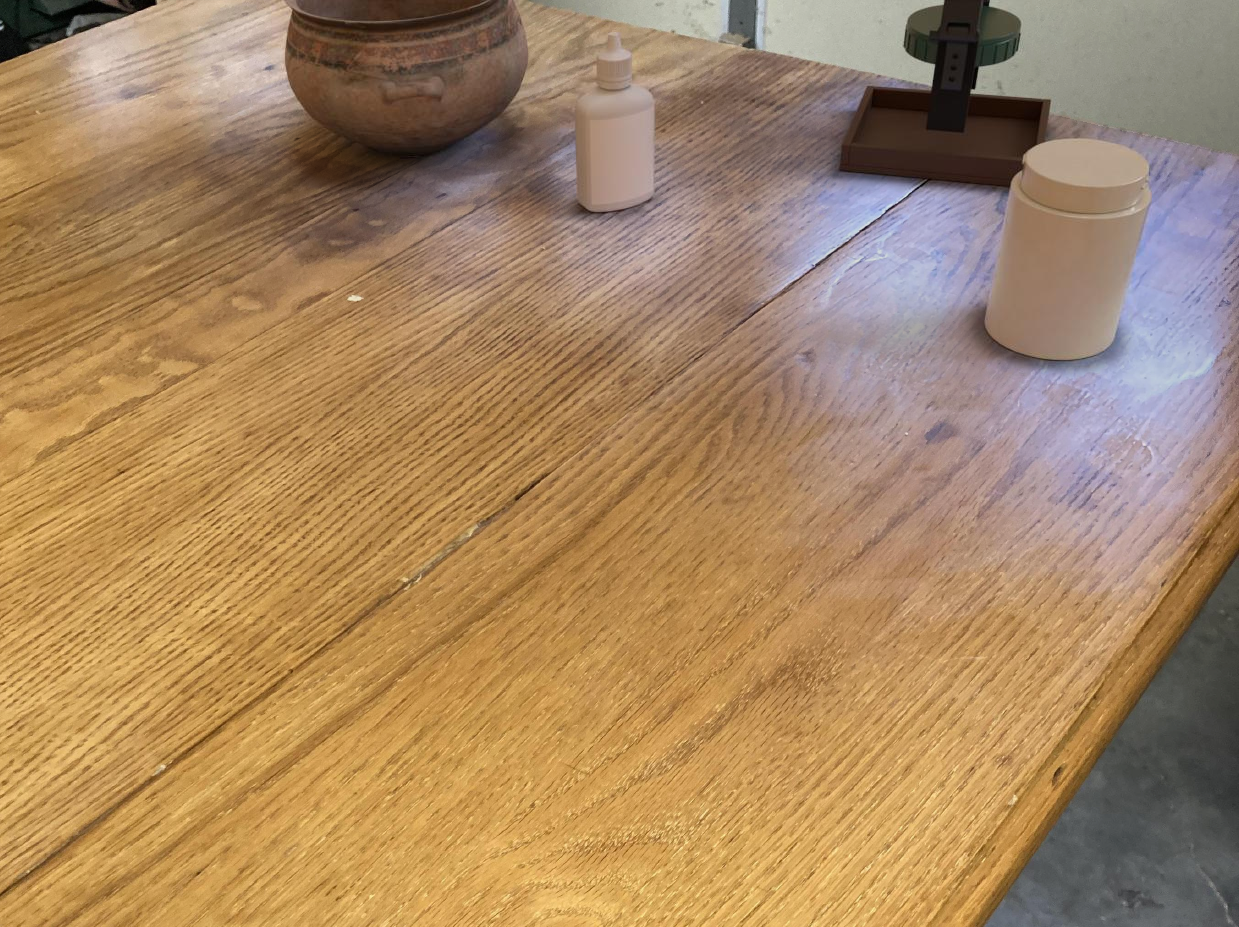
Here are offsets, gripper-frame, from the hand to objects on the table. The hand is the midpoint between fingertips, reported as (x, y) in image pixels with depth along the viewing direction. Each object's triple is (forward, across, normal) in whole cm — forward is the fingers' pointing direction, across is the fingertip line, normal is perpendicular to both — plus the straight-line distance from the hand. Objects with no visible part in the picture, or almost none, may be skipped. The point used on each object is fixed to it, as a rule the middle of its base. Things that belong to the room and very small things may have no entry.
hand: (951, 106), depth 100 cm
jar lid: (-6, 0, 0) cm, 6 cm away
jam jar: (+3, +26, +9) cm, 28 cm away
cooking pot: (+3, +8, -41) cm, 42 cm away
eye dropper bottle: (+3, +15, -22) cm, 27 cm away
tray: (+3, 0, 0) cm, 3 cm away
